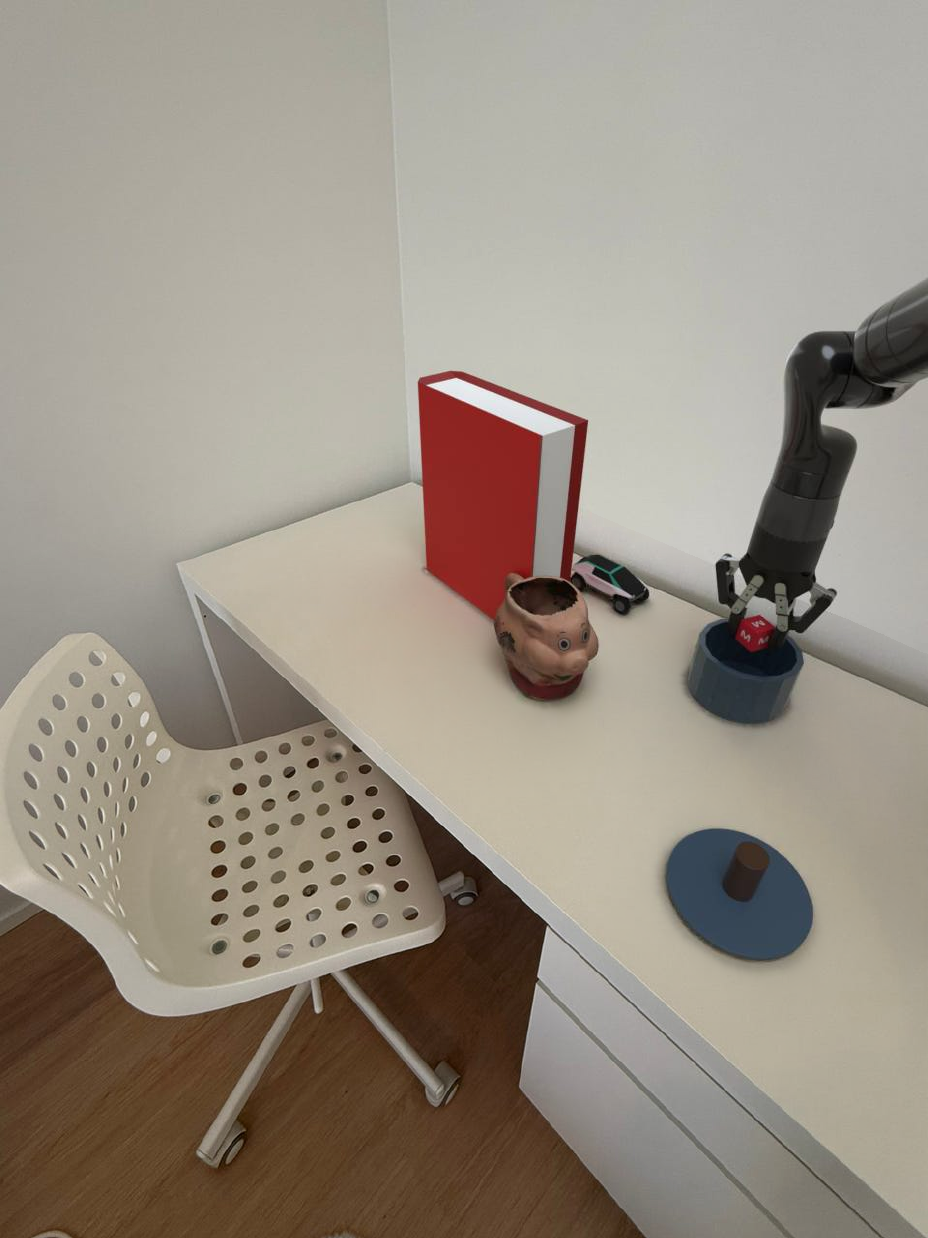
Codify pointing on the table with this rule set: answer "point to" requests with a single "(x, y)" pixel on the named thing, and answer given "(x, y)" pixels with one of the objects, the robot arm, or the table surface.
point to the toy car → (609, 581)
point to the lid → (739, 894)
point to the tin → (742, 676)
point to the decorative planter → (545, 635)
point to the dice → (754, 633)
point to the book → (496, 485)
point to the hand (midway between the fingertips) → (753, 641)
